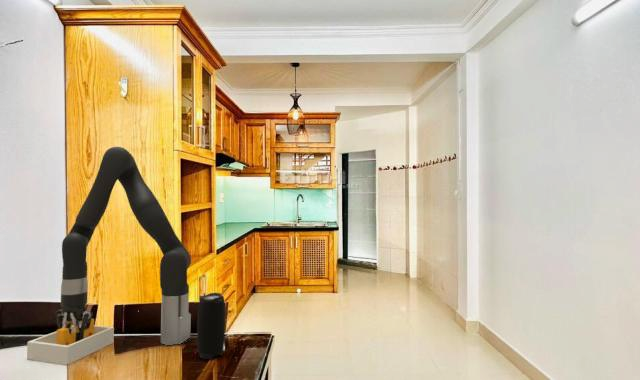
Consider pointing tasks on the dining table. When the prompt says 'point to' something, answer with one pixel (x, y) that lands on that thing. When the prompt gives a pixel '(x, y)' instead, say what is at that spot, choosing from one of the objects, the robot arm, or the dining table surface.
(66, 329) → the pipe clamp
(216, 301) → the portable speaker
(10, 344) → the dining table surface
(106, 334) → the walled box
